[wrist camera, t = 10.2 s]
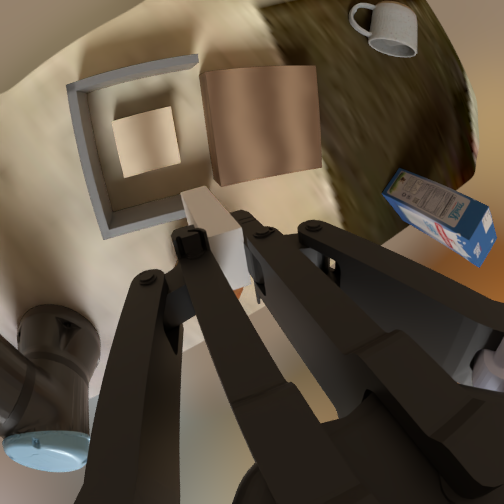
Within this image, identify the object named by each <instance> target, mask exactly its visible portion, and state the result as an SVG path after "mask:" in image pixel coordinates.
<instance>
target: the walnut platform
mask: <svg viewBox="0 0 504 504" xmlns="http://www.w3.org/2000/svg"><path fill="white" fill-rule="evenodd" d="M199 79H200V86H201V94H202V101H203V109H204V116H205V123H206V130H207V137H208V144H209V151H210V157H211V164H212V171H213V177H214V180H215V181H216V182H217V183H218V184H219V185H220V186H221V187H223V186H227V185H232V184H237V183H241V182H246V181H251V180H256V179H261V178H266V177H271V176H277V175H282V174H287V173H293V172H299V171H304V170H310V169H316V168H322V156H321V133H320V116H319V101H318V88H317V76H316V66H263V67H247V68H235V69H225V70H216V71H208V72H204V73H202V74H201V75H199Z"/></svg>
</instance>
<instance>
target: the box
mask: <svg viewBox="0 0 504 504" xmlns="http://www.w3.org/2000/svg"><path fill="white" fill-rule="evenodd" d="M197 63H199V60H198V54H192V55H185V56H178V57H172V58H166V59H161V60H156V61H151V62H146V63H141V64H137V65H132V66H128V67H124V68H120V69H116V70H112V71H109V72H105V73H102V74H98V75H95V76H92V77H88V78H85V79H82V80H79V81H76V82H73V83H70V84H67V85H66V88H67V95H68V101H69V107H70V113H71V119H72V124H73V129H74V134H75V139H76V143H77V148H78V152H79V157H80V161H81V165H82V169H83V173H84V177H85V181H86V184H87V188H88V192H89V195H90V199H91V202H92V206H93V209H94V212H95V215H96V219H97V222H98V225H99V228H100V231H101V234H102V237H103V240H106V239H109V238H113V237H116V236H120V235H123V234H127V233H130V232H134V231H137V230H141V229H145V228H148V227H152V226H156V225H159V224H163V223H167V222H171V221H175V220H179V219H183V218H186V214H185V210H184V206H183V202H182V197H181V194H180V195H175V196H171V197H167V198H164V199H160V200H156V201H152V202H148V203H144V204H141V205H137V206H133V207H130V208H126V209H123V210H119V211H116V212H113V211H112V207H111V204H110V200H109V197H108V193H107V189H106V185H105V182H104V178H103V174H102V169H101V165H100V161H99V157H98V152H97V148H96V143H95V138H94V133H93V128H92V123H91V118H90V112H89V106H88V100H87V94H86V93H89V92H92V91H95V90H98V89H102V88H105V87H109V86H112V85H116V84H120V83H124V82H128V81H132V80H136V79H140V78H145V77H150V76H154V75H159V74H164V73H170V72H175V71H181V70H188V69H191V68H192V67H193V66H195V65H196V64H197Z"/></svg>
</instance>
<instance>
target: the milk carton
mask: <svg viewBox="0 0 504 504" xmlns="http://www.w3.org/2000/svg"><path fill="white" fill-rule="evenodd" d="M382 195H383V196H384V197H385V198H386V199H387V201H388V202H389V203H390V204H391V206H392V207H393V208H394V209H395V211H396V212H397V213H398V214H399V216H400V217H401V218H402V220H403V221H405V222H407V223H408V224H410V225H412V226H414V227H416V228H417V229H419V230H420V231H422V232H424V233H425V234H427V235H429V236H430V237H432V238H434V239H435V240H437V241H439V242H440V243H442V244H444V245H445V246H447V247H448V248H450V249H451V250H453V251H455V252H456V253H458V254H459V255H461V256H462V257H464V258H465V259H467V260H468V261H470V262H471V263H473V264H474V265H476V266H477V267H479V268H480V266H481V265H482V263H483V261H484V260H485V258H486V256H487V255H488V253H489V251H490V250H491V248H492V246H493V244H494V243H495V241H496V239H497V237H496V232H495V228H494V225H493V220H492V216H491V213H490V209H489V206H487V205H485V204H483V203H481V202H479V201H477V200H474V199H472V198H470V197H468V196H466V195H463V194H462V193H459V192H457V191H455V190H453V189H451V188H448V187H446V186H444V185H441V184H439V183H437V182H434V181H432V180H429V179H427V178H424V177H422V176H419V175H417V174H414V173H412V172H409V171H407V170H404V169H401V168H399V169H398V170H397V172H396V173H395V175H394V176H393V178H392V179H391V181H390V182H389V184H388V185H387V187H386V188H385V189H384V191H383V192H382Z"/></svg>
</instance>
